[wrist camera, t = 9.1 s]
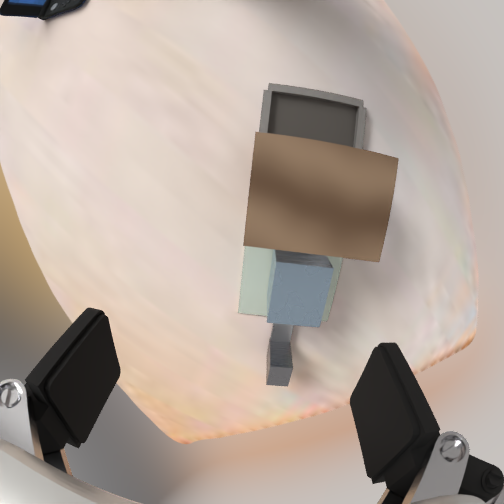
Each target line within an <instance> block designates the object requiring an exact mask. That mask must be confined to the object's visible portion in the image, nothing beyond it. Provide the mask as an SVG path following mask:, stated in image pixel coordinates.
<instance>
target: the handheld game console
mask: <svg viewBox="0 0 504 504" xmlns="http://www.w3.org/2000/svg"><path fill="white" fill-rule="evenodd" d="M84 2H85V0H4V2H3V4H2V6H1V8H0V15H2V16H21V17H33V18H37V17H38V18H40V19H42V20H46V19H48V18H50V17H53V16H56V15H59V14H61V13H64V12H67V11H70V10H74V9H76V8H78V7H80V6H81V5H82V4H83V3H84Z"/></svg>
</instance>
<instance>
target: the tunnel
mask: <svg viewBox="0 0 504 504" xmlns="http://www.w3.org/2000/svg"><path fill="white" fill-rule="evenodd" d="M398 159H399V158H395V157H391V156H387V155H384V154H380V153H376V152H372V151H367V150H363V149H359V148H354V147H349V146H345V145H340V144H335V143H329V142H324V141H318V140H312V139H306V138H300V137H293V136H286V135H278V134H270V133H261V132H256V134H255V143H254V152H253V161H252V170H251V179H250V188H249V197H248V207H247V216H246V225H245V235H244V245H243V246H249V247H258V248H266V249H275V250H283V251H291V252H300V253H308V254H316V255H324V256H333V257H341V258H349V259H357V260H365V261H373V262H379V260H380V256H381V252H382V248H383V244H384V239H385V235H386V230H387V226H388V221H389V216H390V210H391V205H392V199H393V193H394V187H395V181H396V174H397V167H398Z"/></svg>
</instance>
